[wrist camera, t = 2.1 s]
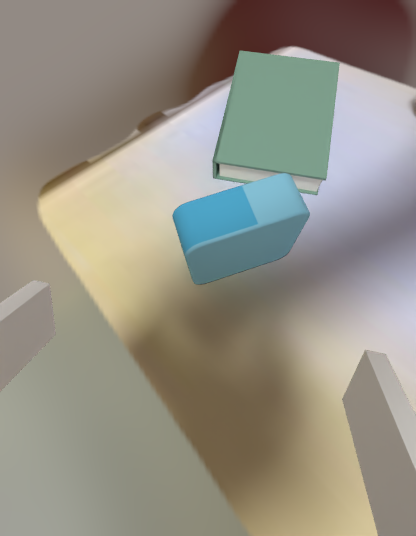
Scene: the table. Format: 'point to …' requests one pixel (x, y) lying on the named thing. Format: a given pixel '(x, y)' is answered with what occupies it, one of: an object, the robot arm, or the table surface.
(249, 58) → the green book
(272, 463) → the table surface
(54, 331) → the robot arm
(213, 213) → the data package
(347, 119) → the table surface
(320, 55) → the table surface
